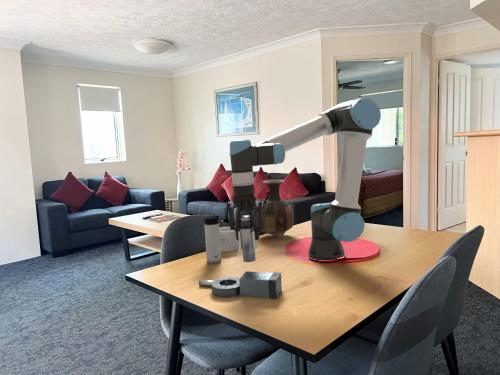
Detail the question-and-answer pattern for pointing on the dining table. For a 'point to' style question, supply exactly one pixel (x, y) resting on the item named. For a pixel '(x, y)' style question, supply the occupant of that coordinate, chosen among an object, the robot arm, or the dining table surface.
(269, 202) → the vase
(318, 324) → the dining table surface
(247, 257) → the grey capped bottle
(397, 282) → the dining table surface
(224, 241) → the mug
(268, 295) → the grey machined bracket
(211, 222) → the travel mug
